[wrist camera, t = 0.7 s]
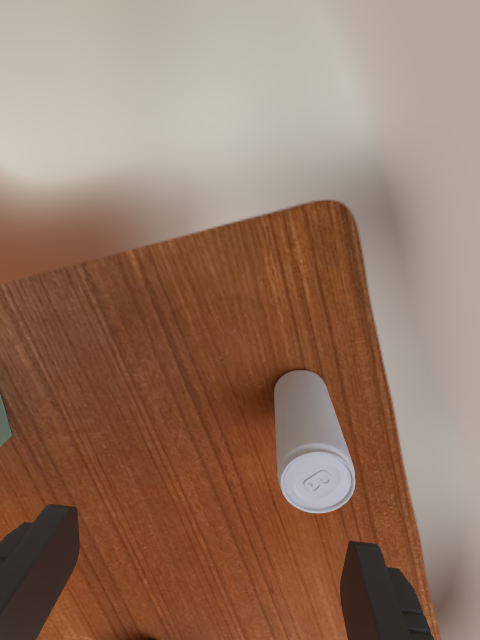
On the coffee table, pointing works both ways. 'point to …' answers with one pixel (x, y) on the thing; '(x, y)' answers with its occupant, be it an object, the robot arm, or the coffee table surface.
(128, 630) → the coffee table surface
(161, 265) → the coffee table surface
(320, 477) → the beverage can
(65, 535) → the robot arm
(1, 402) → the scale
